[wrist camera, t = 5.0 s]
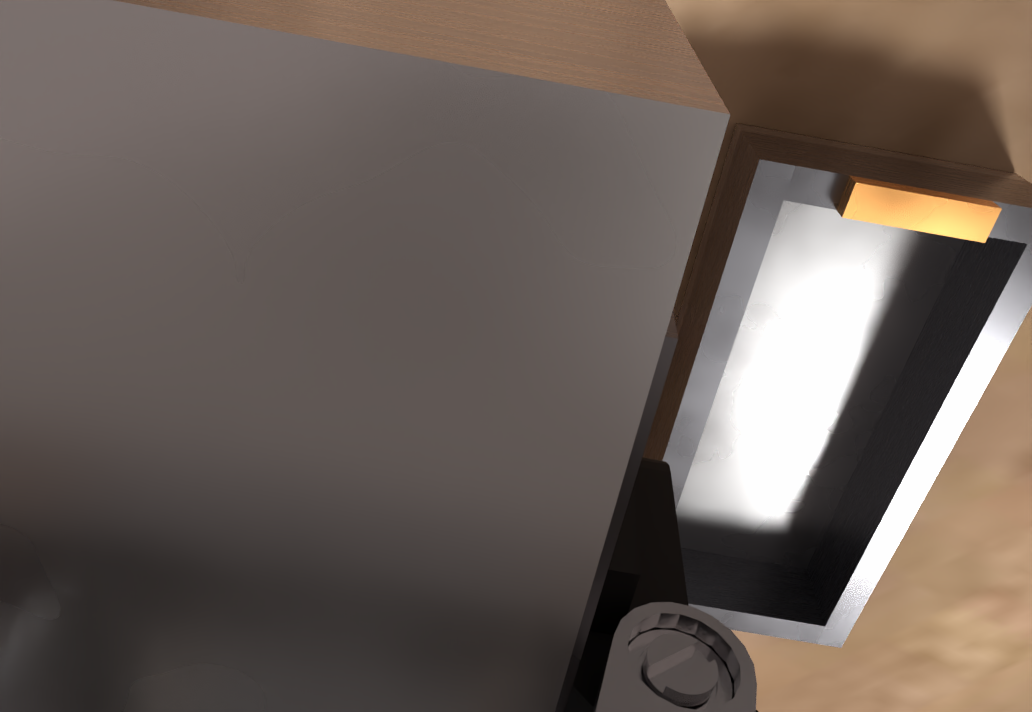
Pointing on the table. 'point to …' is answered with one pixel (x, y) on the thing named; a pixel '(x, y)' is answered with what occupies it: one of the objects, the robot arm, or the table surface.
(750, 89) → the table surface
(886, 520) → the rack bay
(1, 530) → the grey rectangular block
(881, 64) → the table surface
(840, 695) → the table surface
